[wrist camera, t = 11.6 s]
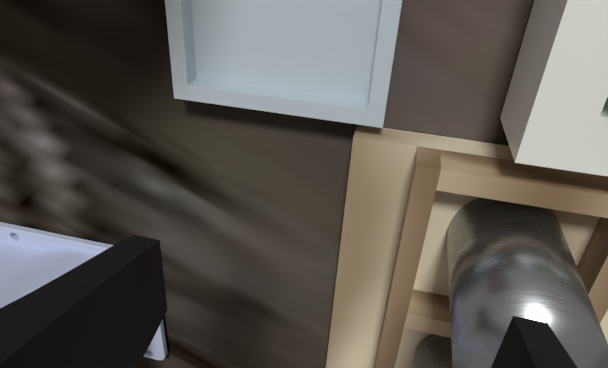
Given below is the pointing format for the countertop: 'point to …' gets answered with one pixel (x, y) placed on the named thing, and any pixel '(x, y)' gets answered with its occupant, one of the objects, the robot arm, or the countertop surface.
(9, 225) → the robot arm
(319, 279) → the countertop surface
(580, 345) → the cylinder
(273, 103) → the tray
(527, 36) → the button housing
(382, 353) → the board
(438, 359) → the seated billet
